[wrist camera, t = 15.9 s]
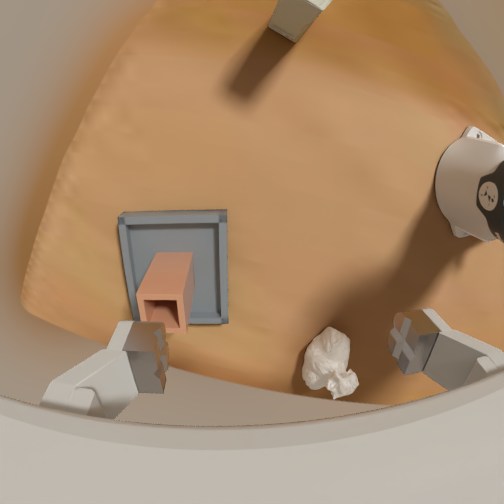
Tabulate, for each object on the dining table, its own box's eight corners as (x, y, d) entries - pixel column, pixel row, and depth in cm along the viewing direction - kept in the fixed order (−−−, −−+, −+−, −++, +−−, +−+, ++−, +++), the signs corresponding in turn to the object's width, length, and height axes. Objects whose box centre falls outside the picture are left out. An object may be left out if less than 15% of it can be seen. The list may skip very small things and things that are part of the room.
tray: (226, 209, 40) (226, 214, 38) (228, 313, 46) (228, 323, 44) (123, 212, 39) (117, 217, 37) (138, 313, 45) (134, 322, 43)
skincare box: (295, 44, 32) (323, 14, 21) (265, 26, 31) (281, -11, 20) (320, 12, 31) (353, -23, 19) (291, -5, 29) (314, -47, 18)
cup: (192, 252, 41) (182, 294, 31) (195, 285, 43) (187, 333, 33) (156, 252, 41) (135, 293, 31) (160, 285, 43) (143, 332, 32)
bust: (306, 364, 55) (350, 402, 48) (280, 377, 49) (328, 420, 43) (336, 313, 51) (387, 352, 44) (312, 322, 45) (369, 368, 38)
